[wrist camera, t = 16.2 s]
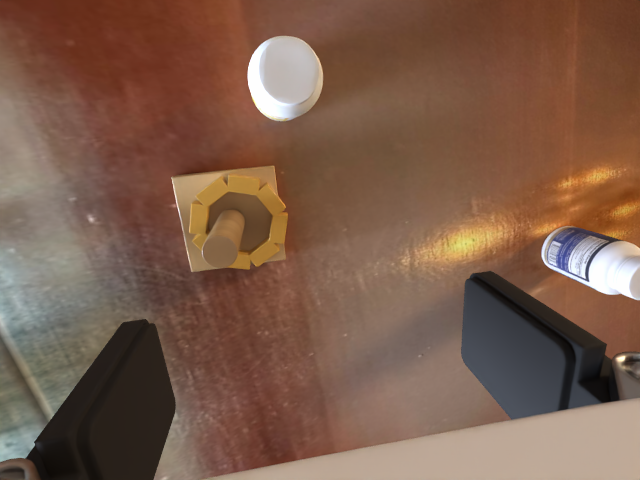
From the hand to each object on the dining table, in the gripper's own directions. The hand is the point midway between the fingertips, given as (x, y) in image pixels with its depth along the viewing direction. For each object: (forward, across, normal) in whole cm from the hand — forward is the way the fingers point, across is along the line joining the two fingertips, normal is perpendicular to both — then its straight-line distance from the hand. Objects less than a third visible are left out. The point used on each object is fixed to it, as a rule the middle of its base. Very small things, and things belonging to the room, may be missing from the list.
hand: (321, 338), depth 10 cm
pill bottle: (+25, -31, +10) cm, 41 cm away
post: (+25, +5, +2) cm, 25 cm away
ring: (+23, +4, +2) cm, 24 cm away
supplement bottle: (+25, -1, -9) cm, 27 cm away
